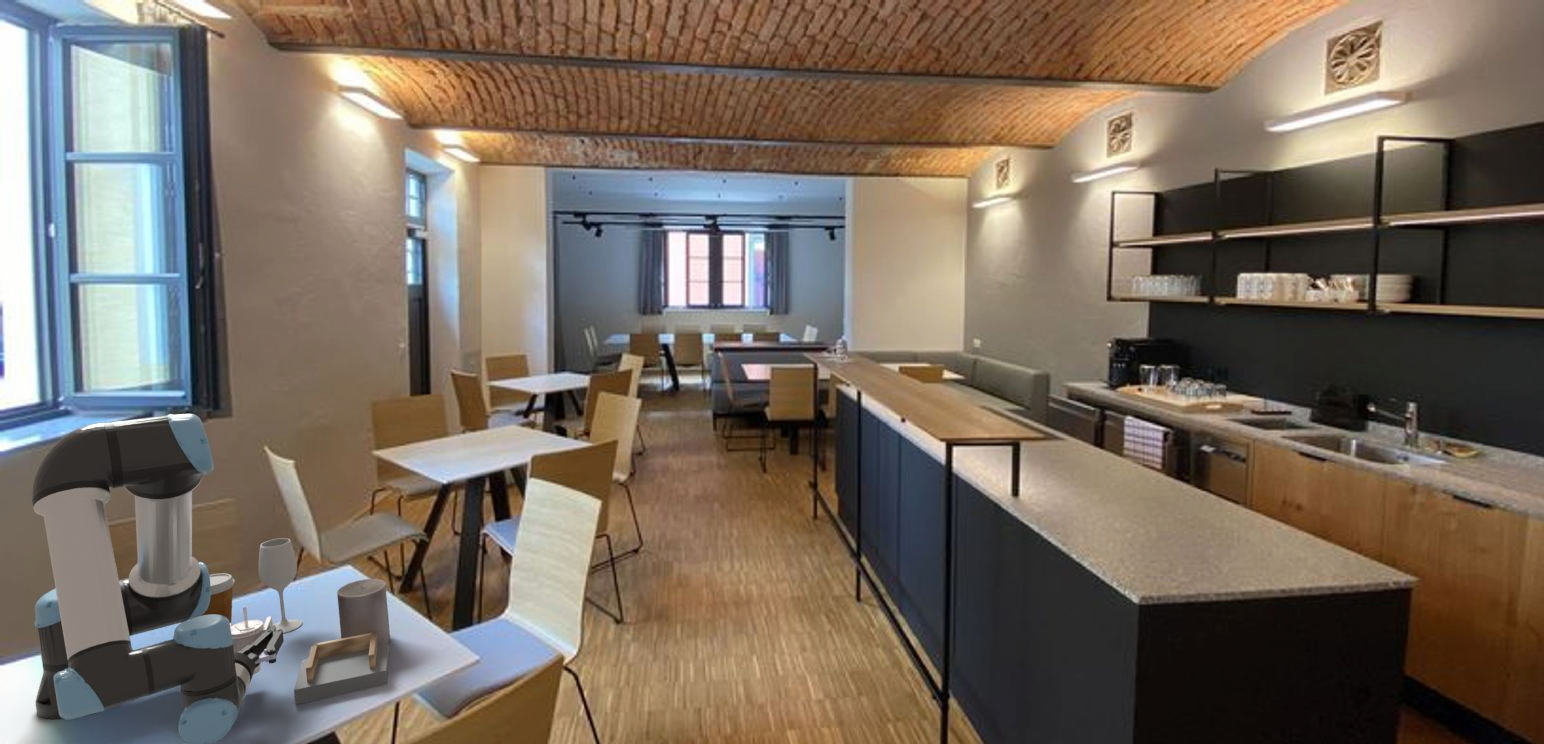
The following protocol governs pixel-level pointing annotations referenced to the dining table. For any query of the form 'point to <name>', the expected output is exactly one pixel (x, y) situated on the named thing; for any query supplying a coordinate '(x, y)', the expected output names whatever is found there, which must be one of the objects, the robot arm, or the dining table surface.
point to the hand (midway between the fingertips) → (250, 625)
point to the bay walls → (341, 650)
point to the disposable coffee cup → (221, 595)
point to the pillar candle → (364, 609)
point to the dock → (342, 675)
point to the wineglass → (279, 573)
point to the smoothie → (246, 634)
